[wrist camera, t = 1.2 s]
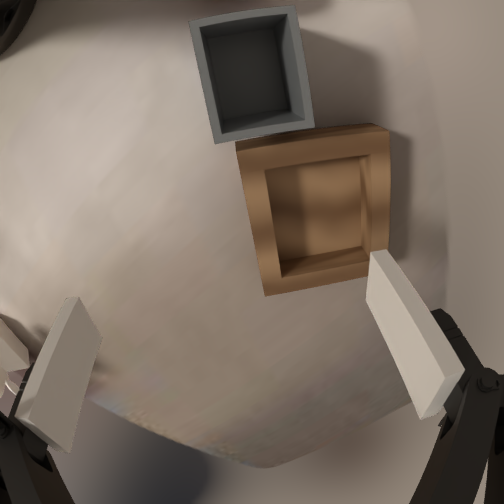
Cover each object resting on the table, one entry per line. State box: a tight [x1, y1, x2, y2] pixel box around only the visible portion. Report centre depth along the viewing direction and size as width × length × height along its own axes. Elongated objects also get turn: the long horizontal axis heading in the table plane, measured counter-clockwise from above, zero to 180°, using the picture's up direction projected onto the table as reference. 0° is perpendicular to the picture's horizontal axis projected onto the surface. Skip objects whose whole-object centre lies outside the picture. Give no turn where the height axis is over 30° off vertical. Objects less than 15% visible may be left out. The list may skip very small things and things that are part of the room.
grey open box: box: [188, 5, 315, 144], centre depth 22 cm, size 9×7×8 cm
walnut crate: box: [235, 123, 391, 296], centre depth 31 cm, size 15×14×4 cm
